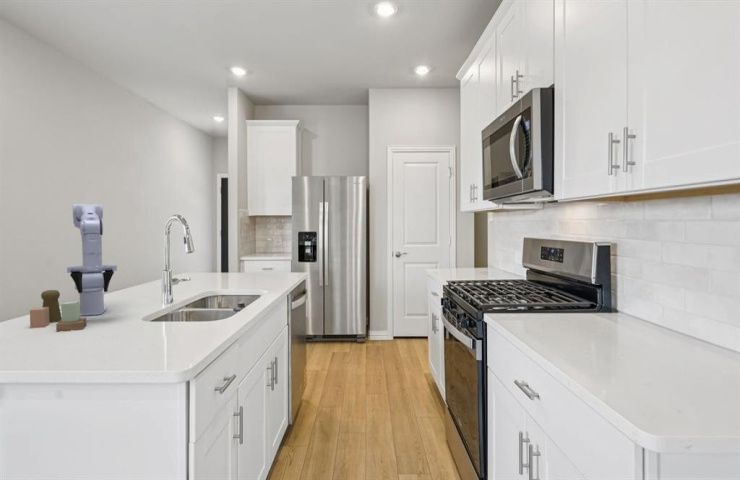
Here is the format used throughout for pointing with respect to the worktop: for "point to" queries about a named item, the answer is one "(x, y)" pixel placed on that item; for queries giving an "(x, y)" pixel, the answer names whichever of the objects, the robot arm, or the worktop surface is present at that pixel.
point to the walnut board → (71, 325)
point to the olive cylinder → (52, 304)
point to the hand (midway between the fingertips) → (93, 292)
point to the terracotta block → (39, 317)
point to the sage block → (70, 311)
